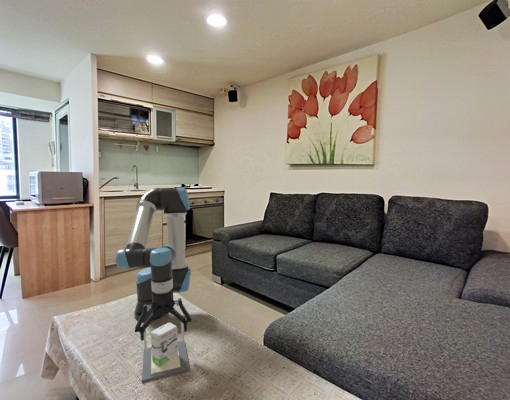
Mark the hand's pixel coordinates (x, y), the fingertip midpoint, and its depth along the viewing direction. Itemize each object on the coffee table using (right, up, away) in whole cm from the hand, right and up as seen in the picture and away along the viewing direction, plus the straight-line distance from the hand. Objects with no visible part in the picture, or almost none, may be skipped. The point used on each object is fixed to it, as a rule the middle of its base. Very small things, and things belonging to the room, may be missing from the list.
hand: (164, 343), depth 103 cm
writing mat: (0, -7, 0) cm, 7 cm away
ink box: (0, -6, 0) cm, 6 cm away
